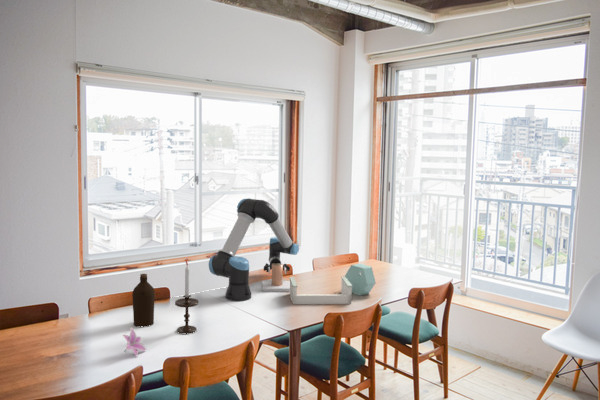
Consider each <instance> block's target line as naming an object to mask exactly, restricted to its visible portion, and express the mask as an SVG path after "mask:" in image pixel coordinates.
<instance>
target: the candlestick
mask: <svg viewBox="0 0 600 400" xmlns="http://www.w3.org/2000/svg"><path fill="white" fill-rule="evenodd" d="M185 264H186V267H185V269H184V271H185V272H184V279H185V280H184V295H182V298H179V299H176V300H175V302H174V303H175V304H174V305H175V306H176V307H178V308H179V307H180V308H185V309H184V310H185V314H184V315H183V318H184V320H183V321H184V322H185V323H184V325H182V326H179V327H177V329H176V333H178V332H179V333H178V334H180V333H186V334H185V335H188V334H187V333H192V334H194V333H196V332H197V327H196V326H195V325H189V322H190V319H189V318H190V317H191V315H190V314H189V308H192V307H195V306H198V305H199V299H197V298H194V297H193V298H192V295H191V294H190V268H189V266H188V265H189V263H188V260H185ZM195 331H196V332H195ZM193 332H194V333H193Z"/></svg>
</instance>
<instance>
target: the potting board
mask: <svg viewBox="0 0 600 400" xmlns="http://www.w3.org/2000/svg"><path fill="white" fill-rule="evenodd" d="M271 283H272V280H261V286H262V292H264V293H267V292H268V293H269V292H270V293H271V292H275V293H277V292H278V293H279V292H280V293H283V292H284V293H288V292H289V293H290V280H283V282H282V285H281V286H273V285H271Z"/></svg>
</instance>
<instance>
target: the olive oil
mask: <svg viewBox="0 0 600 400" xmlns="http://www.w3.org/2000/svg"><path fill="white" fill-rule="evenodd" d="M139 276H140V277H139V283H138V284H137V285H136V286H135V287H134V288H133V290H132V293H131V294H132V296H131V297H132V312H133V325H134V326H135V327H137V326H140V327H139V328H145V327H144V326H147V327H149V325H150V326H152V325H154V324H155V323H154V319H155V303H156V301H155V300H156V291H155V288H154V287H153V286H152V285H151V284H150V283H149V282H148V274H147V273H140V275H139ZM141 326H143V327H141Z"/></svg>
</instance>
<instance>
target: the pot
mask: <svg viewBox="0 0 600 400" xmlns="http://www.w3.org/2000/svg"><path fill="white" fill-rule="evenodd" d="M283 265H284V264H283V263H282V262H281V263H273V264H272V269H271V281H272V283H271V285H273V286H281V285H282V282H283V281H284V280H283V277H284V274H283V273H284V270H283Z"/></svg>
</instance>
